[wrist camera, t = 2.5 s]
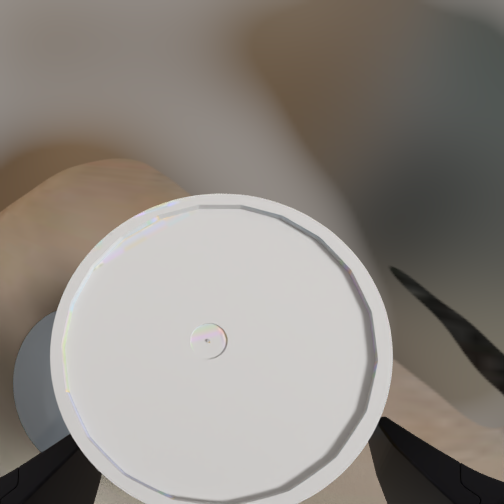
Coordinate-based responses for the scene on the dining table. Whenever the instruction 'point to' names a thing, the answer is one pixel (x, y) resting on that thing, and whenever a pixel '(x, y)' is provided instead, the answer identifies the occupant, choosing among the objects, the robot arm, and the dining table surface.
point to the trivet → (38, 388)
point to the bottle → (221, 354)
